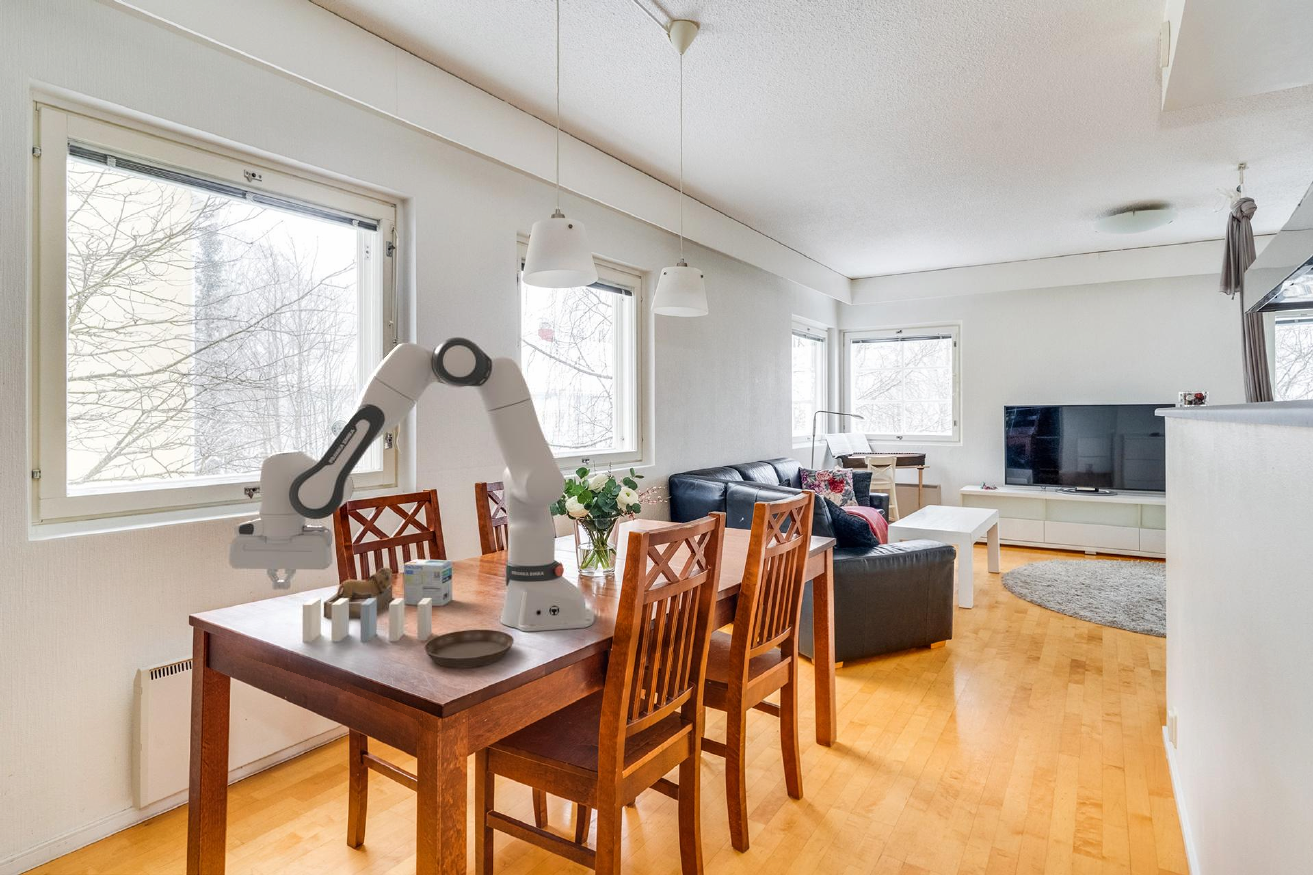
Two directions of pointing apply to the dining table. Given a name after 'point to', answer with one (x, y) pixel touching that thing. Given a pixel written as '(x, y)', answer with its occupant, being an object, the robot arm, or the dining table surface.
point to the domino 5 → (424, 619)
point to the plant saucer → (468, 648)
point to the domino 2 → (340, 619)
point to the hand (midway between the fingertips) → (281, 589)
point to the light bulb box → (428, 581)
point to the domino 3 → (368, 619)
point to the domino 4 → (396, 619)
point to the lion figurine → (367, 584)
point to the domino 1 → (311, 619)
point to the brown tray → (356, 606)
